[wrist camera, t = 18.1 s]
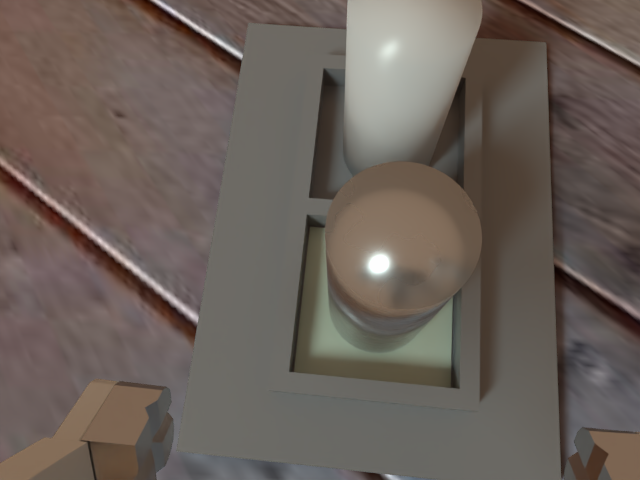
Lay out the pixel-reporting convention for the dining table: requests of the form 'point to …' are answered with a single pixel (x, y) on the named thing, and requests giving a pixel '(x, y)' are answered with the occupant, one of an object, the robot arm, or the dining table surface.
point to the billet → (397, 252)
